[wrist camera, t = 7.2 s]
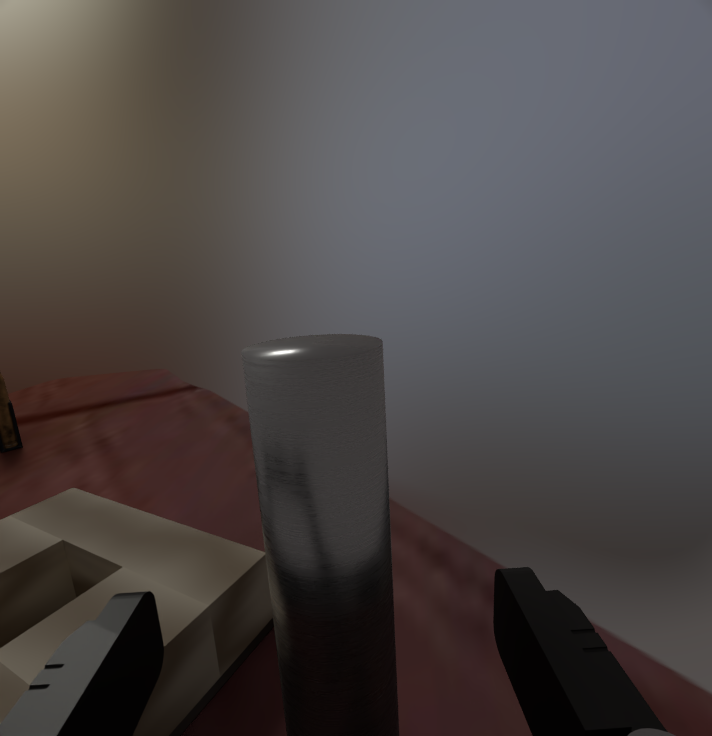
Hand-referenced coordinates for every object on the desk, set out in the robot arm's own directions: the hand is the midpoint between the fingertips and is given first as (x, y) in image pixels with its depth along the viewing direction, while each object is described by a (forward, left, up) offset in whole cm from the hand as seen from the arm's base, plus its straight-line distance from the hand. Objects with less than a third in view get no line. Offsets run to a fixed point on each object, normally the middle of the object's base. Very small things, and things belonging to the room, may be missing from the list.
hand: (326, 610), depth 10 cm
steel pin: (+1, +1, -9) cm, 9 cm away
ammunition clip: (+14, +54, -9) cm, 56 cm away
